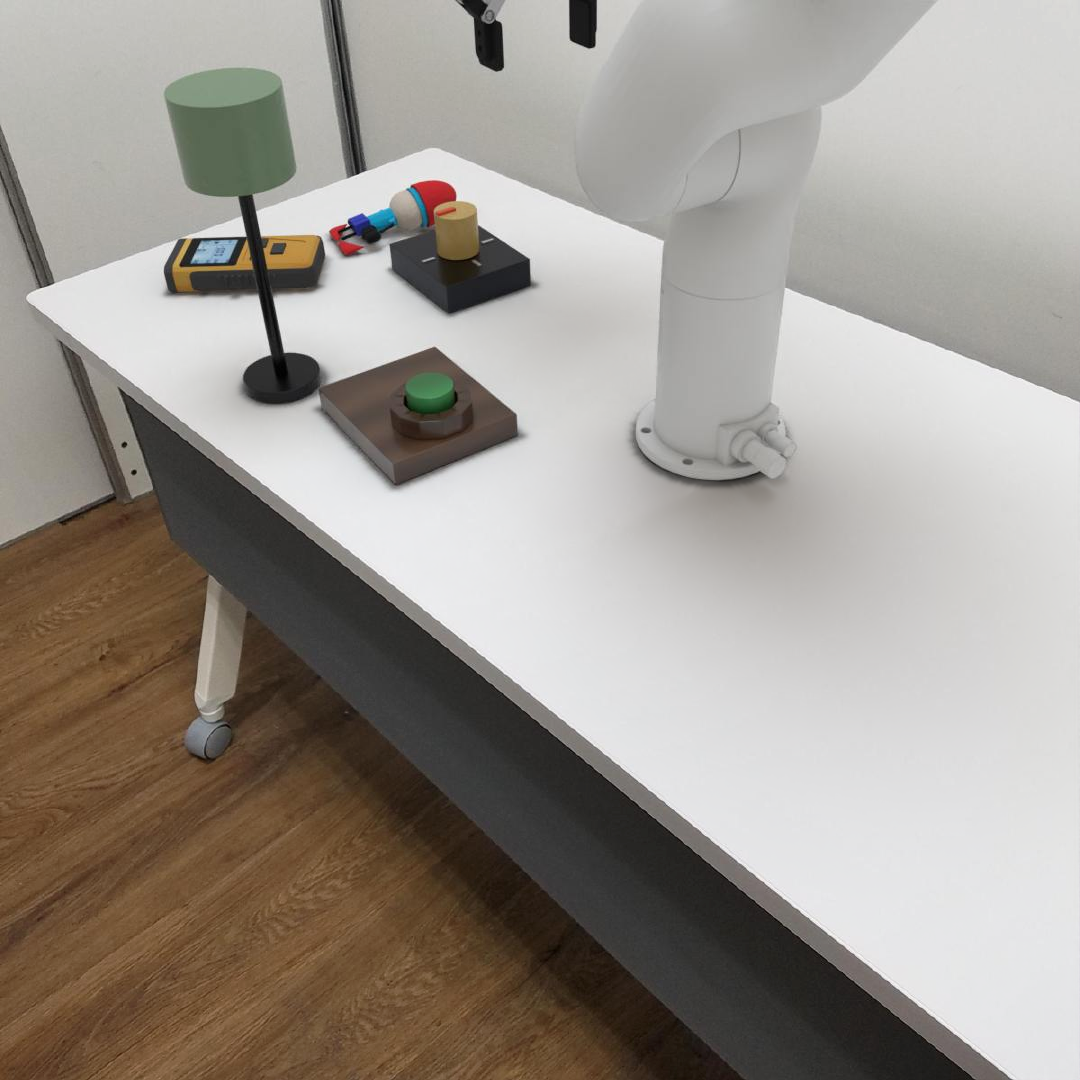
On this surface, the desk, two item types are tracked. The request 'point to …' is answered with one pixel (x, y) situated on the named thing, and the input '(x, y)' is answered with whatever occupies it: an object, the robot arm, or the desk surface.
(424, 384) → the switch
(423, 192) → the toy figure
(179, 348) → the desk surface
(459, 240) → the knob
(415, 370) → the button base
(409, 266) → the dimmer panel
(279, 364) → the lamp
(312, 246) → the electronic device
